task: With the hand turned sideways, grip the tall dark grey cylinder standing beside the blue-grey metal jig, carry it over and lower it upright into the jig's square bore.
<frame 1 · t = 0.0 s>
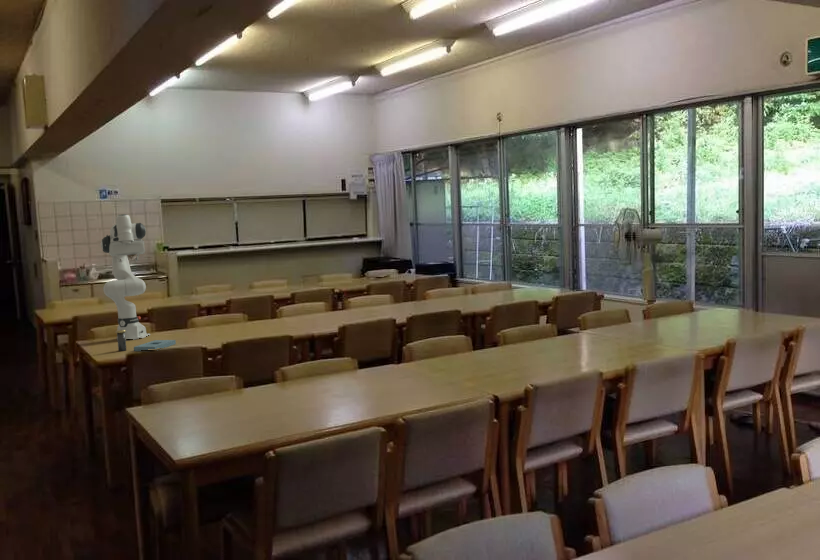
hand: (128, 261, 437), 52 cm above the table, tool tilted 20°, fingers open, 8 cm apart
dark grey cylinder: (122, 350, 428), on the table
jig: (155, 347, 433), on the table
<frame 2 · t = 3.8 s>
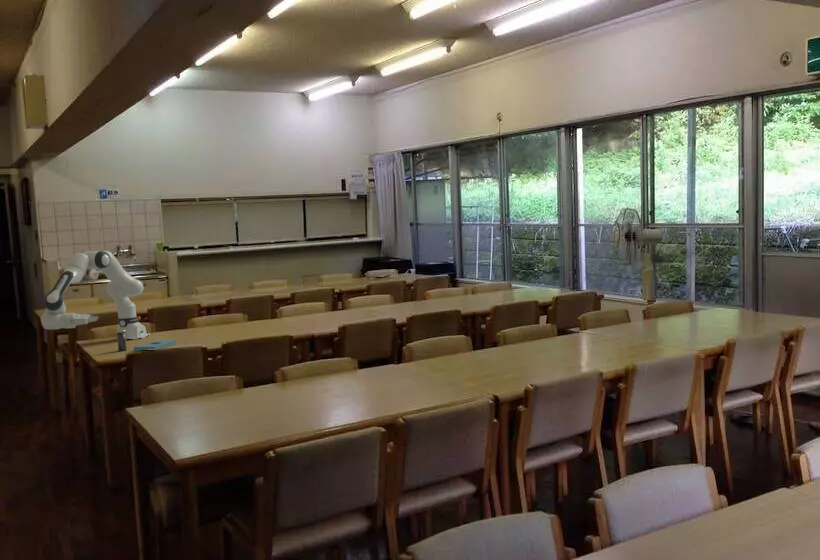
hand: (97, 318, 423), 20 cm above the table, tool horizontal, fingers open, 8 cm apart
nothing on the table moved.
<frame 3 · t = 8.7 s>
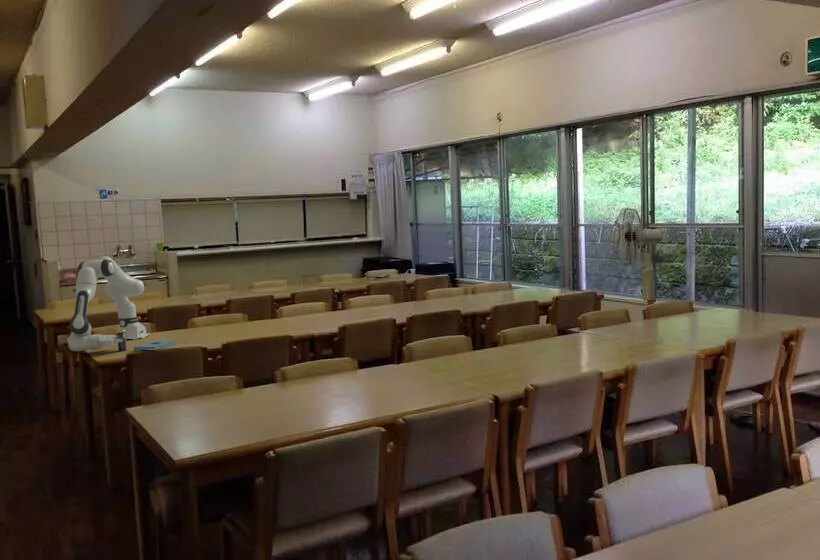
hand: (123, 339, 428), 7 cm above the table, tool horizontal, fingers closed on dark grey cylinder, 4 cm apart
dark grey cylinder: (122, 350, 428), on the table, touching gripper
when the fingers open (8 cm above the table, at t = 14.8 s): dark grey cylinder drops 1 cm, resting in jig.
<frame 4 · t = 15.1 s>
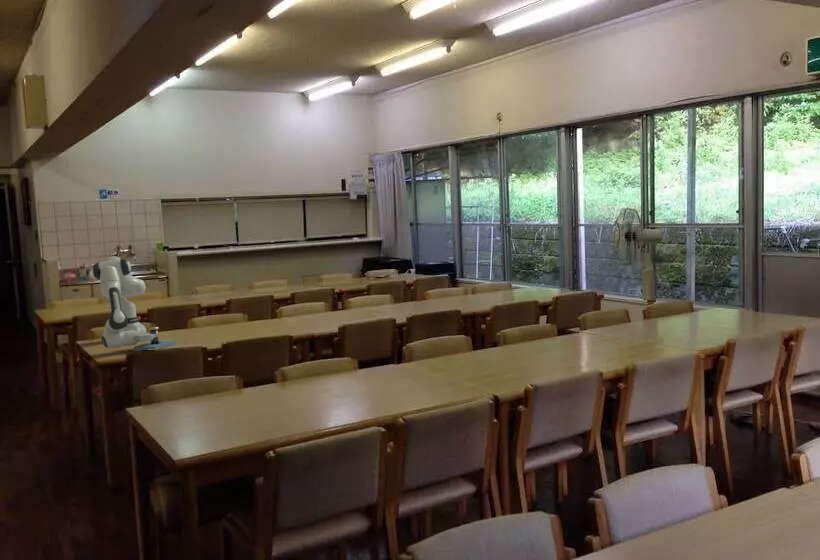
hand: (155, 334, 433), 8 cm above the table, tool horizontal, fingers open, 7 cm apart
dark grey cylinder: (155, 347, 433), resting in jig
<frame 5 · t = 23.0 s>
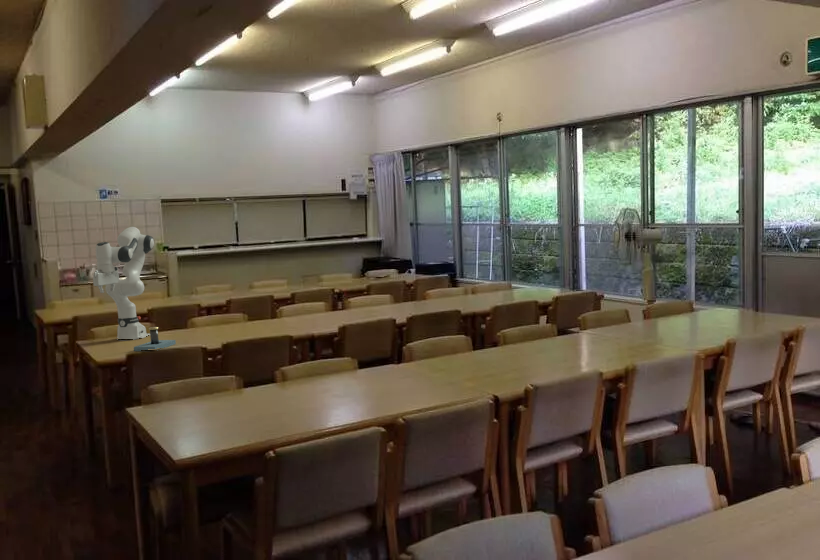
hand: (107, 292, 438), 34 cm above the table, tool pointing down, fingers open, 8 cm apart
nothing on the table moved.
at the end: dark grey cylinder 0.0 cm from the jig (horizontally); dark grey cylinder resting in jig; dark grey cylinder tilted 0° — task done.
